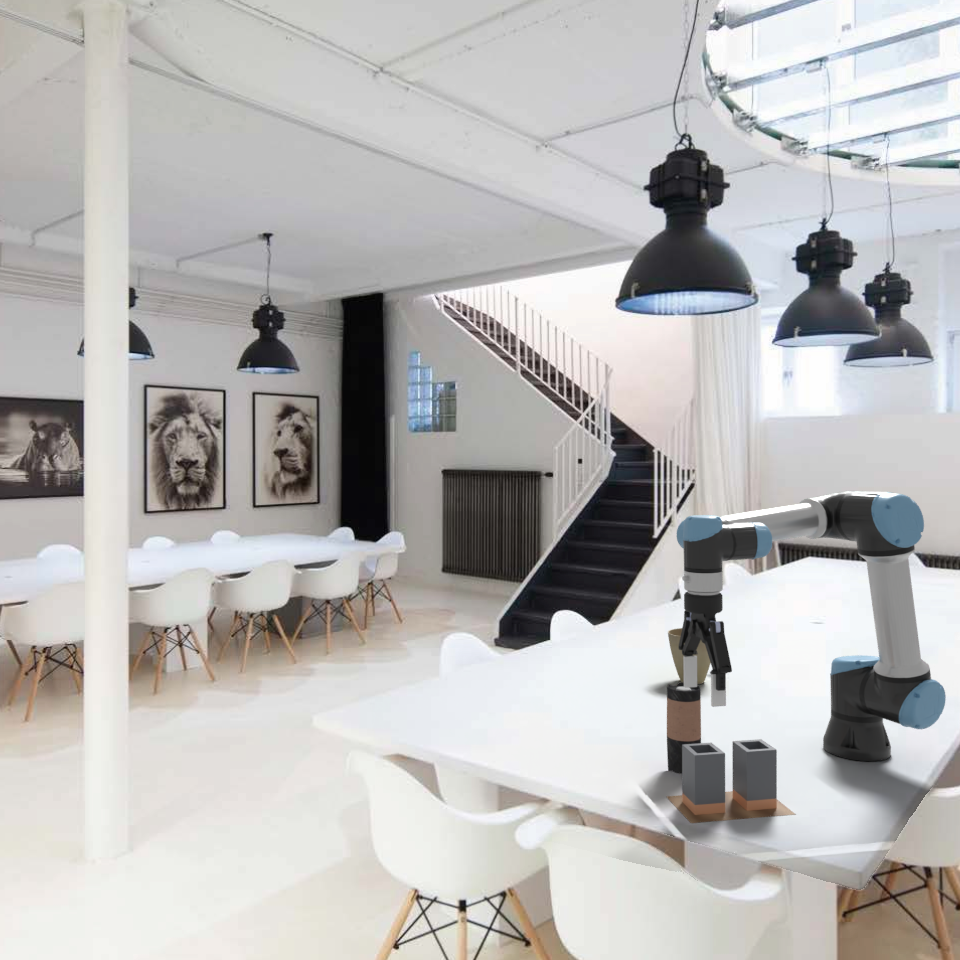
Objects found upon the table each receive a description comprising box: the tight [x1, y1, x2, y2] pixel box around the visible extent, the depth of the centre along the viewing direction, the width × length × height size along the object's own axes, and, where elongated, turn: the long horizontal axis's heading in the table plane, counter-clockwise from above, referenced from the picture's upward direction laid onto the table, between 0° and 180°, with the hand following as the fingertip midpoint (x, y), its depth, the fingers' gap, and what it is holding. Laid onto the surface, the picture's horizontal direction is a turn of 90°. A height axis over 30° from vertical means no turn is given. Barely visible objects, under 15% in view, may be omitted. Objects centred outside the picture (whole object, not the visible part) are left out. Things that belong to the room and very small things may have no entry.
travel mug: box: [666, 681, 702, 775], centre depth 193 cm, size 8×8×20 cm
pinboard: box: [665, 790, 797, 824], centre depth 172 cm, size 22×13×8 cm, turn 99°
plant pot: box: [667, 627, 711, 685], centre depth 270 cm, size 15×15×16 cm
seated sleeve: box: [732, 738, 778, 811], centre depth 173 cm, size 6×6×12 cm
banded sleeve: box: [681, 742, 726, 815], centre depth 172 cm, size 6×6×12 cm
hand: (703, 696), depth 171 cm, fingers open, 13 cm apart
